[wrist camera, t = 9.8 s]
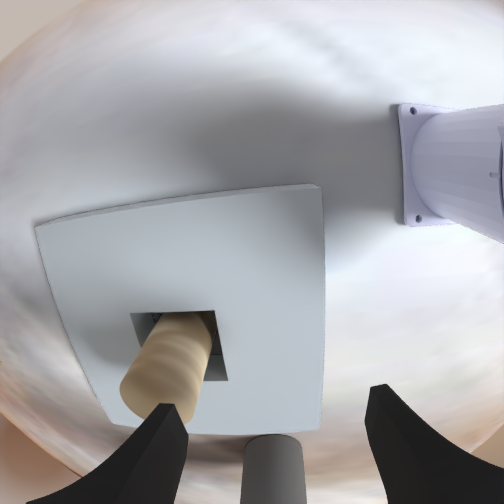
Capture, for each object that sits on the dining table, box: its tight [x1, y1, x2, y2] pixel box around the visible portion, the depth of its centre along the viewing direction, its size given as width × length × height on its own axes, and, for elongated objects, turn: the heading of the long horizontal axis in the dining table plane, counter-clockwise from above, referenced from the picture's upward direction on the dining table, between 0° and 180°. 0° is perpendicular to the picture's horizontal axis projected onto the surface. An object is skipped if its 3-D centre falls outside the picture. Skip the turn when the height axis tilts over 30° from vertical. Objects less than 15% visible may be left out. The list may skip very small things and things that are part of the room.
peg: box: [119, 310, 217, 424], centre depth 16 cm, size 4×4×8 cm
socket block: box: [35, 183, 325, 435], centre depth 19 cm, size 18×18×3 cm
